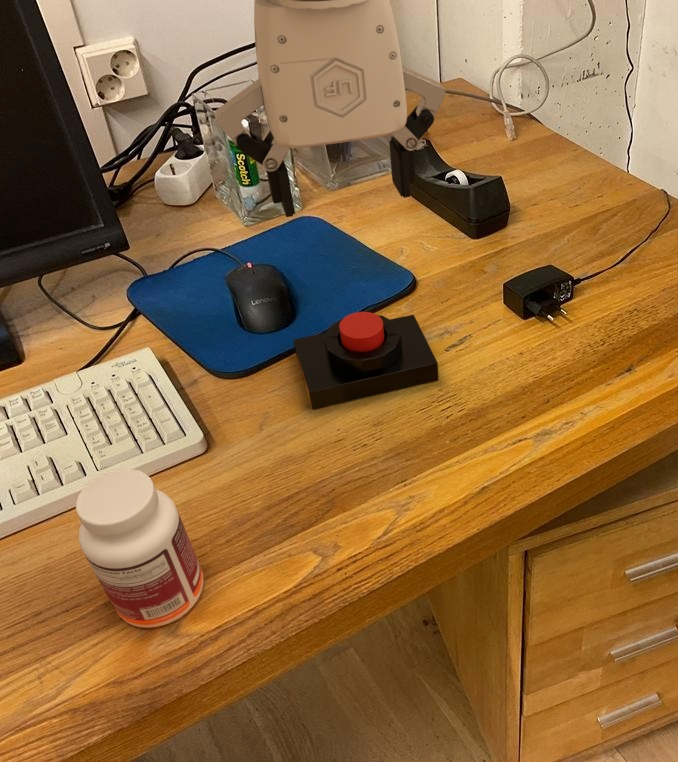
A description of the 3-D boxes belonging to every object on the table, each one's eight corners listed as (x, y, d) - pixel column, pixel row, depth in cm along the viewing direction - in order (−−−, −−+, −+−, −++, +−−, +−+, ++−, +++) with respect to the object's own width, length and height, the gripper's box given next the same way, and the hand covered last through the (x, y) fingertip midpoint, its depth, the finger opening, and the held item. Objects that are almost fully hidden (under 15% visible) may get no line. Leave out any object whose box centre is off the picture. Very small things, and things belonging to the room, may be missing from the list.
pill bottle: (152, 548, 62) (108, 448, 54) (222, 572, 60) (186, 472, 53) (96, 615, 57) (40, 517, 50) (169, 643, 56) (123, 545, 49)
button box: (312, 410, 74) (306, 377, 71) (296, 356, 79) (290, 324, 76) (438, 380, 77) (437, 347, 74) (414, 331, 82) (412, 299, 80)
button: (346, 356, 74) (344, 341, 72) (337, 331, 76) (334, 316, 75) (389, 347, 75) (387, 332, 74) (378, 322, 78) (376, 307, 76)
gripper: (187, -3, 49) (242, 241, 61) (457, -26, 54) (461, 203, 66) (178, -36, 55) (230, 194, 66) (425, -54, 60) (433, 163, 71)
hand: (345, 198), depth 66 cm, fingers open, 9 cm apart
